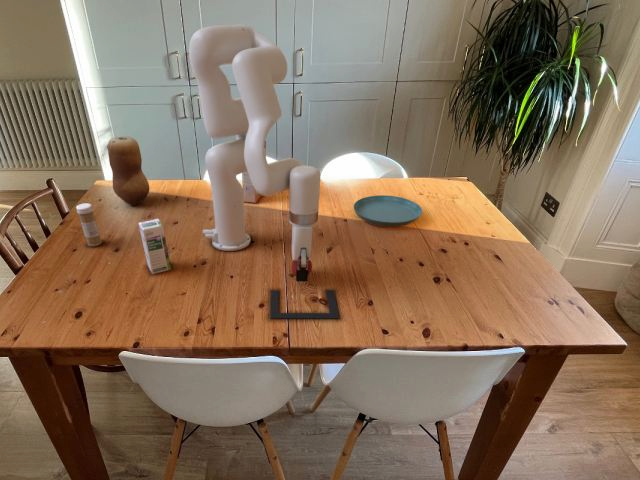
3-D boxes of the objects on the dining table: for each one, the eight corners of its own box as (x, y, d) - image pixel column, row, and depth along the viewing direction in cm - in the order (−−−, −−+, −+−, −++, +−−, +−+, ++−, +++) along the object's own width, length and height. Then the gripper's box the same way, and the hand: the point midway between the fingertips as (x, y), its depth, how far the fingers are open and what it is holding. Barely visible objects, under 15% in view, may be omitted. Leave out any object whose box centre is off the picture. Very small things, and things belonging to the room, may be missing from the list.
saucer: (389, 198, 163) (391, 190, 161) (435, 221, 145) (437, 213, 143) (339, 210, 154) (340, 202, 152) (381, 236, 136) (383, 227, 134)
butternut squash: (158, 202, 162) (146, 137, 148) (128, 212, 154) (113, 145, 140) (138, 193, 170) (125, 131, 156) (109, 203, 162) (93, 138, 148)
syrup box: (152, 275, 118) (142, 229, 110) (147, 265, 123) (137, 221, 114) (171, 270, 120) (163, 225, 112) (166, 261, 125) (158, 217, 116)
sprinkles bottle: (101, 239, 137) (91, 201, 129) (102, 245, 133) (91, 207, 125) (87, 242, 135) (75, 203, 128) (87, 248, 132) (75, 209, 124)
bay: (270, 318, 101) (270, 318, 101) (271, 291, 111) (271, 290, 111) (339, 319, 101) (339, 318, 101) (333, 291, 111) (333, 290, 111)
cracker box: (257, 203, 160) (255, 149, 148) (242, 202, 161) (239, 148, 149) (267, 191, 171) (266, 139, 159) (253, 189, 172) (251, 138, 161)
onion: (310, 284, 113) (311, 259, 109) (290, 282, 114) (290, 257, 110) (312, 273, 118) (313, 248, 114) (292, 271, 119) (293, 247, 114)
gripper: (288, 202, 112) (287, 258, 123) (289, 231, 98) (288, 292, 109) (315, 202, 112) (312, 258, 123) (321, 230, 98) (317, 291, 108)
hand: (301, 273), depth 115 cm, fingers closed on onion, 5 cm apart
